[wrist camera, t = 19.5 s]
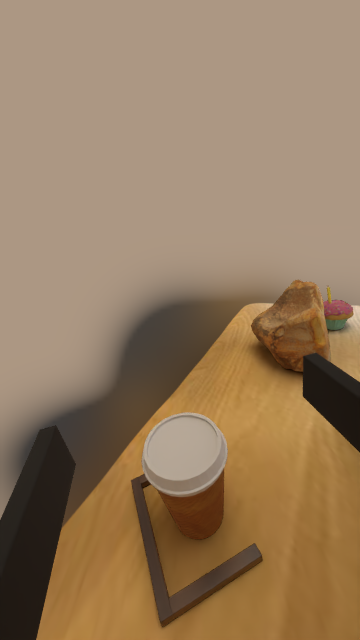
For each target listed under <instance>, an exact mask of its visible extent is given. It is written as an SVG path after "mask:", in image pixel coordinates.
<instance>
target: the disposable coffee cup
mask: <svg viewBox="0 0 360 640" xmlns="http://www.w3.org/2000/svg"><path fill="white" fill-rule="evenodd" d="M227 452H228V449H227V443H226V440H225V437H224V435H223V434H222V432H221V431H220V430H219V429H218V428H217V426H216V425H215V423H214V422H213V421H211V420H210V419H209V418H207V417H205V416H203V415H200V414H196V413H180V414H176V415H172V416H170V417H168V418H166V419H164V420H162V421H161V422H159V423H158V424H157V425H156V426H155V427H154V428H153V429H152V430H151V431H150V433H149V435H148V436H147V439H146V441H145V445H144V450H143V454H142V467H143V471H144V474H145V476H146V478H147V479H148V481H149V482H150V483H151V484H152V485H153V486H154V487H155V488H156V489H157V490H158V492H159V494H160V496H161V497H162V499H163V501H164V503H165V505H166V506H167V508H168V510H169V512H170V513H171V515H172V517H173V519H174V521H175V523H176V524H177V526H178V528H179V529H180V531H181V532H182V533H183V534H184V535H186V536H187V537H189V538H192V539H204V538H207V537H209V536H211V535H212V534H213V533H215V532H216V530H217V529H218V528H219V526H220V524H221V522H222V519H223V511H224V510H223V506H224V467H225V464H226V460H227Z"/></svg>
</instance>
